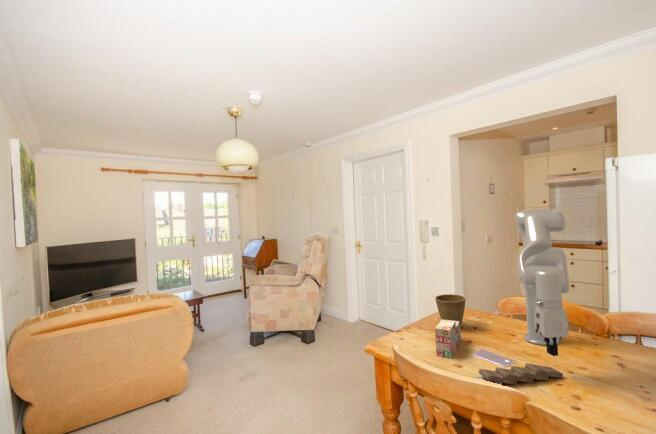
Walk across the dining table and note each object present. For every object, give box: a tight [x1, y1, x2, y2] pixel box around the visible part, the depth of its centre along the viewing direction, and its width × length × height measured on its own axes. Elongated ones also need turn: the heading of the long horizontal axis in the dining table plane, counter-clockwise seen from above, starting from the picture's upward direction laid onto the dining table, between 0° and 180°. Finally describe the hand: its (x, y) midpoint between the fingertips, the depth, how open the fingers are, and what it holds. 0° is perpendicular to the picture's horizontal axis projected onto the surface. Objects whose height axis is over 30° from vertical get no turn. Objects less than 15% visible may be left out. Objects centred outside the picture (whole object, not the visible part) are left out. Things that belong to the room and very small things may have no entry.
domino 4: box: [510, 365, 550, 382], centre depth 113 cm, size 2×5×11 cm
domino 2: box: [478, 368, 517, 385], centre depth 112 cm, size 2×5×11 cm
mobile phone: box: [471, 349, 516, 368], centre depth 131 cm, size 8×1×15 cm
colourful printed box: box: [434, 319, 462, 359], centre depth 143 cm, size 21×6×12 cm, turn 147°
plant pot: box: [434, 293, 466, 327], centre depth 168 cm, size 15×15×16 cm
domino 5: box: [524, 362, 564, 379], centre depth 115 cm, size 2×5×11 cm
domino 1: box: [473, 375, 503, 386], centre depth 112 cm, size 2×5×11 cm
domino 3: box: [494, 367, 534, 384], centre depth 113 cm, size 2×5×11 cm
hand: (552, 354), depth 115 cm, fingers closed
